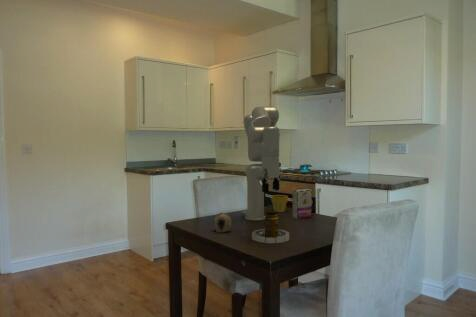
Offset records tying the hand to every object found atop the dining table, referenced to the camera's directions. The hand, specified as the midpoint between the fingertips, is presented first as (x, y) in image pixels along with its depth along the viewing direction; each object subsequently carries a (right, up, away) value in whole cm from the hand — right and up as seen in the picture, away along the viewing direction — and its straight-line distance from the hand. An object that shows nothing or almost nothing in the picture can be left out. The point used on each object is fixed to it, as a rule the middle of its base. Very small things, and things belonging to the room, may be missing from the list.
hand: (270, 190), depth 174 cm
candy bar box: (+23, -20, +47) cm, 56 cm away
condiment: (0, -22, +1) cm, 22 cm away
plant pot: (+11, -19, +66) cm, 70 cm away
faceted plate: (0, -22, +1) cm, 22 cm away
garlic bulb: (-22, -22, +14) cm, 34 cm away
